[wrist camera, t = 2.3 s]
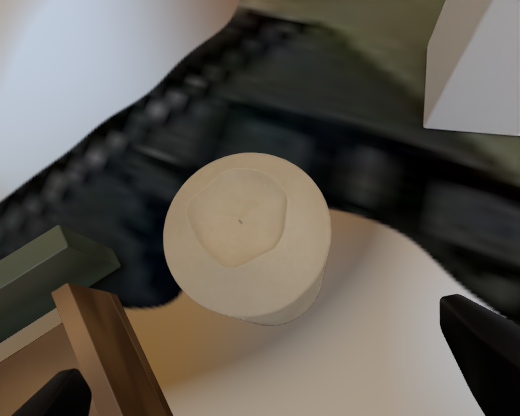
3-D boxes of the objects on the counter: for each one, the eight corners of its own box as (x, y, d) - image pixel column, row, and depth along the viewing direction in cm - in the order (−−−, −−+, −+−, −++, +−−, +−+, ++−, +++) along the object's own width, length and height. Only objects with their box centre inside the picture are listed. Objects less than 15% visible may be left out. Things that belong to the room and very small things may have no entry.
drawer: (-55, 330, 20) (-157, 327, 16) (104, 231, 21) (49, 202, 17) (24, 620, 16) (-90, 732, 11) (224, 480, 16) (192, 533, 12)
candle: (311, 338, 19) (312, 337, 9) (208, 311, 20) (117, 287, 10) (331, 234, 20) (349, 144, 11) (235, 214, 21) (177, 118, 12)
